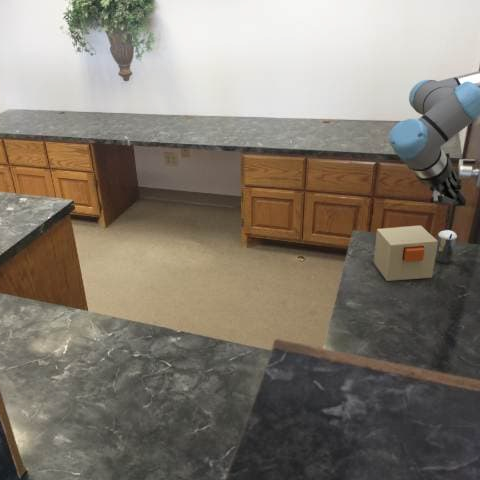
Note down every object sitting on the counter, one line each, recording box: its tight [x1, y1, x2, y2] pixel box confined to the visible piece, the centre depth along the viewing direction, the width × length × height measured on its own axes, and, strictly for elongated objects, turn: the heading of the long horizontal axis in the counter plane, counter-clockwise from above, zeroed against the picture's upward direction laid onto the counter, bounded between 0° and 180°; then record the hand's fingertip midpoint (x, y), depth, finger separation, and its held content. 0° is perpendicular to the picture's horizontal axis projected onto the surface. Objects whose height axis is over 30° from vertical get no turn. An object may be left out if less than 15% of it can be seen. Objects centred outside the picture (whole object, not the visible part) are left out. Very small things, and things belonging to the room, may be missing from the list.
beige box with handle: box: [373, 225, 438, 282], centre depth 140 cm, size 12×10×11 cm
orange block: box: [403, 246, 424, 262], centre depth 134 cm, size 4×2×3 cm, turn 89°
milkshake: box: [436, 229, 458, 264], centre depth 142 cm, size 4×5×10 cm
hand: (459, 203), depth 132 cm, fingers closed
